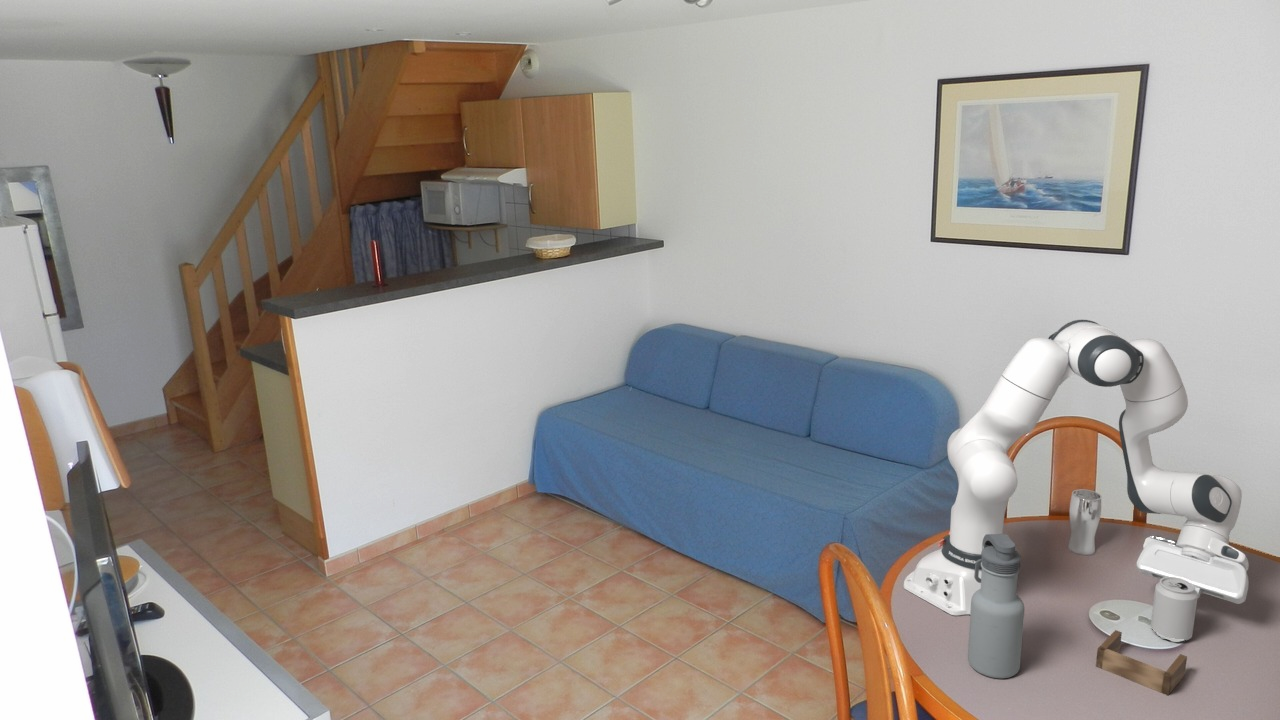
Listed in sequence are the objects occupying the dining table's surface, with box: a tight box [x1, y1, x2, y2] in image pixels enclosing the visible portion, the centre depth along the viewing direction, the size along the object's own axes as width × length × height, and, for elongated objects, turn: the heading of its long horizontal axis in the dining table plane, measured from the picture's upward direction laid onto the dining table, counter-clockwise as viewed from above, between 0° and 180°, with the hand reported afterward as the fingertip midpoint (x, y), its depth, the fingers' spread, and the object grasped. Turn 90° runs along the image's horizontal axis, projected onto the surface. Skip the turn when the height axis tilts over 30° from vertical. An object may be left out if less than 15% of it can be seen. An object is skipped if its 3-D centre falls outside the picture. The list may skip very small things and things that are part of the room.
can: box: [1150, 577, 1198, 641], centre depth 178 cm, size 8×8×12 cm
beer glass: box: [1067, 488, 1102, 556], centre depth 213 cm, size 7×7×15 cm
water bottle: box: [967, 533, 1025, 679], centre depth 169 cm, size 10×10×28 cm
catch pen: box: [1095, 629, 1188, 696], centre depth 168 cm, size 13×9×4 cm
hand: (1180, 605), depth 181 cm, fingers closed, pressing on can
